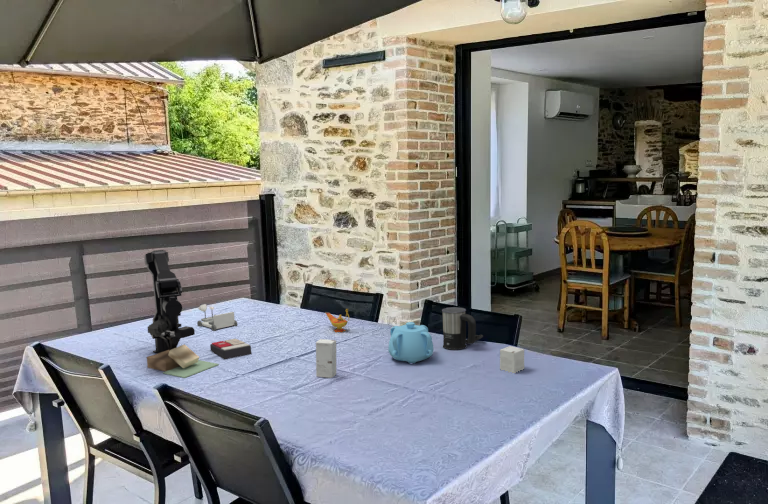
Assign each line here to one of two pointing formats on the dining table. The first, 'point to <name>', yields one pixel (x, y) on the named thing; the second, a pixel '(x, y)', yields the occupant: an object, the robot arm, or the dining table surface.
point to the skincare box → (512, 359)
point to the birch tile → (183, 356)
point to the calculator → (230, 348)
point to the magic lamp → (338, 321)
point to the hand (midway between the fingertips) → (172, 353)
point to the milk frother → (458, 328)
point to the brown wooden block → (161, 361)
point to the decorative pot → (410, 343)
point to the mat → (190, 369)
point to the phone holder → (217, 319)
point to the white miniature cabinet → (326, 358)
